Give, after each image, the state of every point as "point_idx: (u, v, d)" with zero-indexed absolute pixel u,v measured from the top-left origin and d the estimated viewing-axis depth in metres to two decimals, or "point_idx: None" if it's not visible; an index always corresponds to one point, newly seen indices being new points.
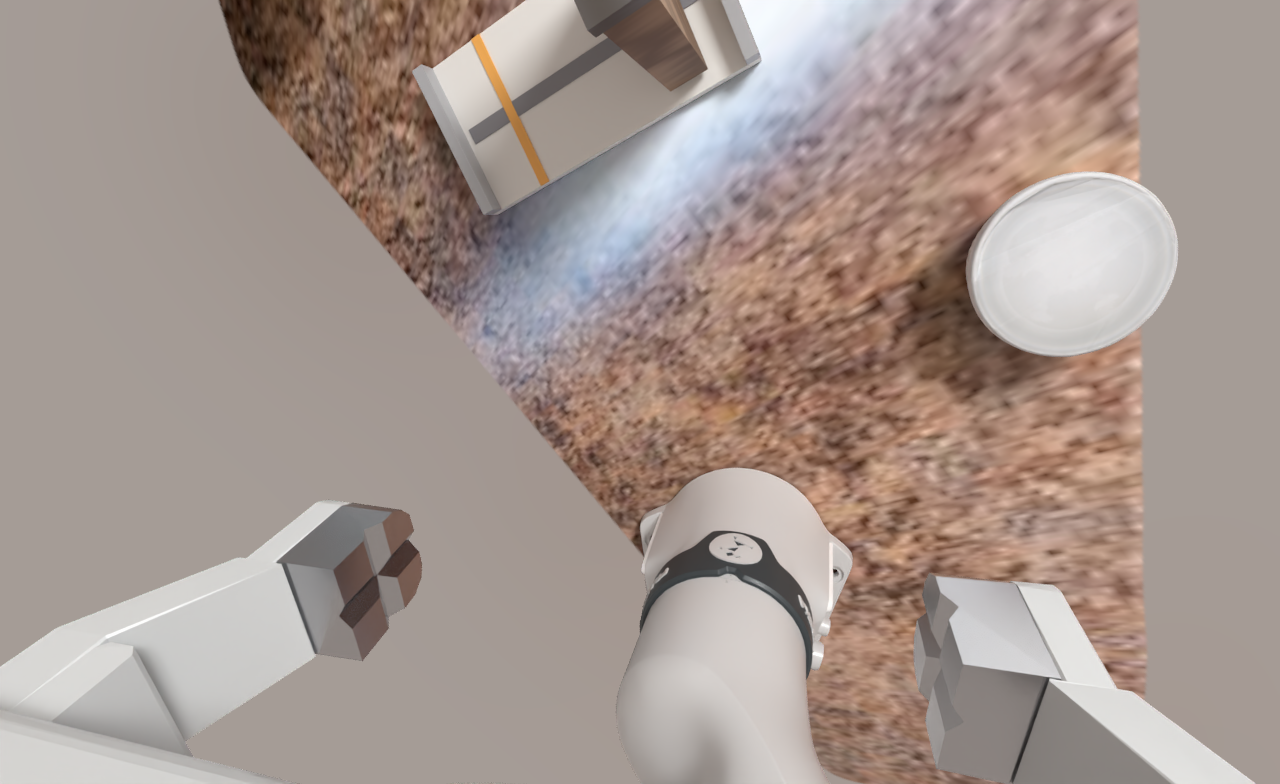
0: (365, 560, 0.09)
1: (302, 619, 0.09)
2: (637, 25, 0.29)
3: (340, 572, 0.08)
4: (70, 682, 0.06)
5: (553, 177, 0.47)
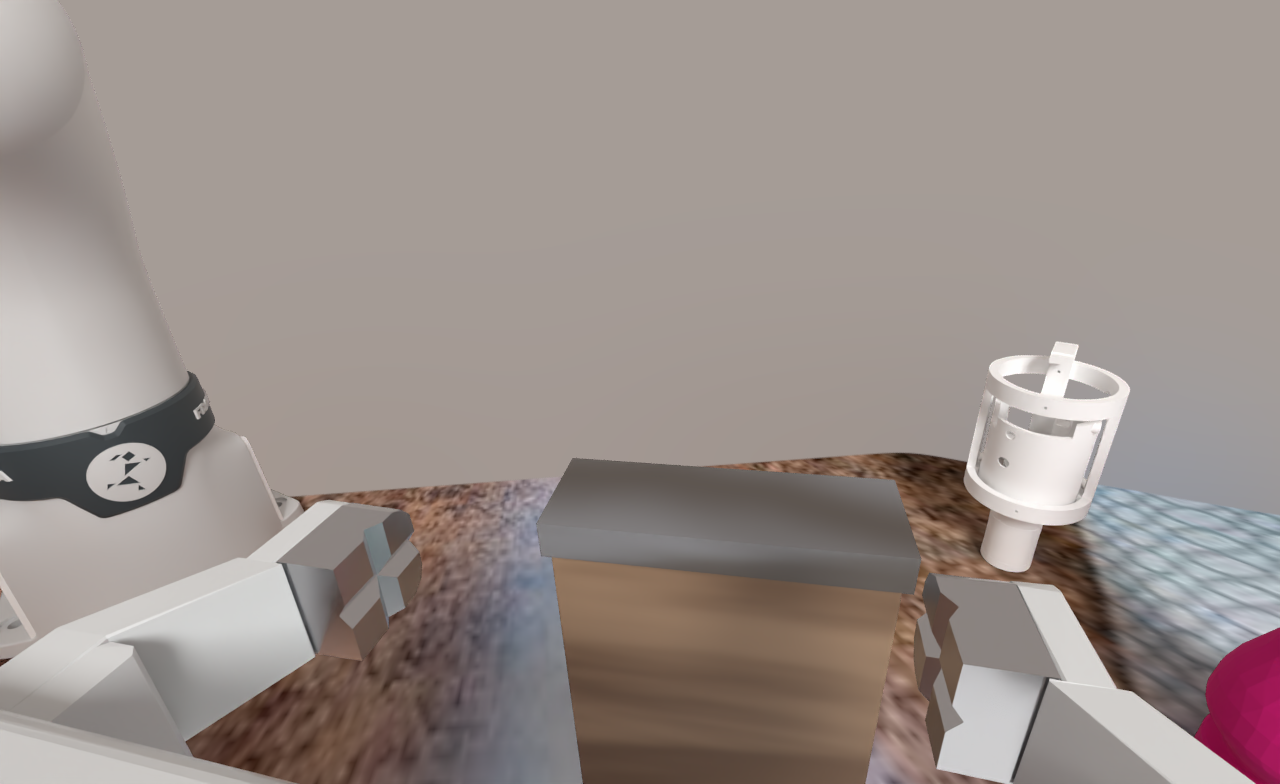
0: (365, 560, 0.09)
1: (302, 620, 0.09)
2: None
3: (340, 572, 0.08)
4: (70, 682, 0.06)
5: None
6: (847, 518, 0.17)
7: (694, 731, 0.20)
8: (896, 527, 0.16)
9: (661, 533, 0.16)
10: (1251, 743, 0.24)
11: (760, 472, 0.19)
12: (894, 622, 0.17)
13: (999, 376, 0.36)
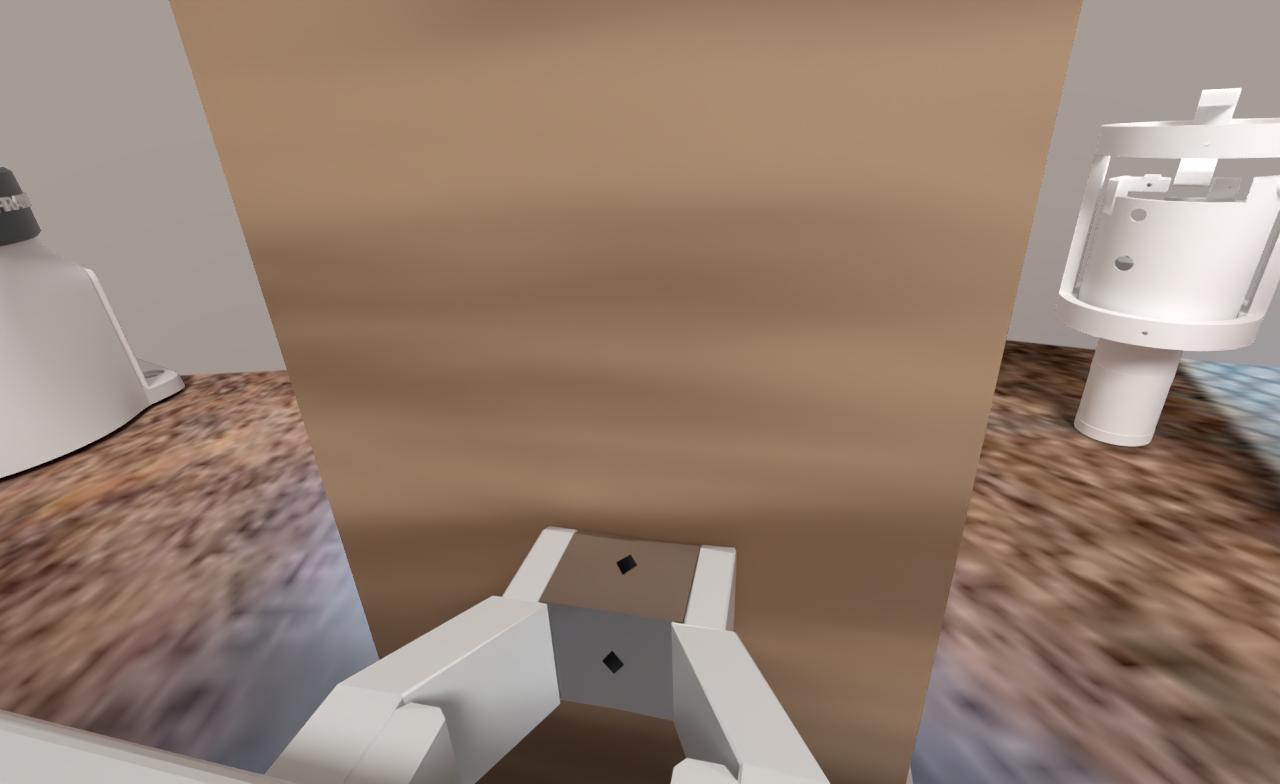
0: None
1: (554, 664, 0.08)
2: None
3: None
4: (391, 755, 0.06)
5: None
6: None
7: (552, 472, 0.09)
8: None
9: None
10: None
11: None
12: None
13: (1121, 125, 0.24)
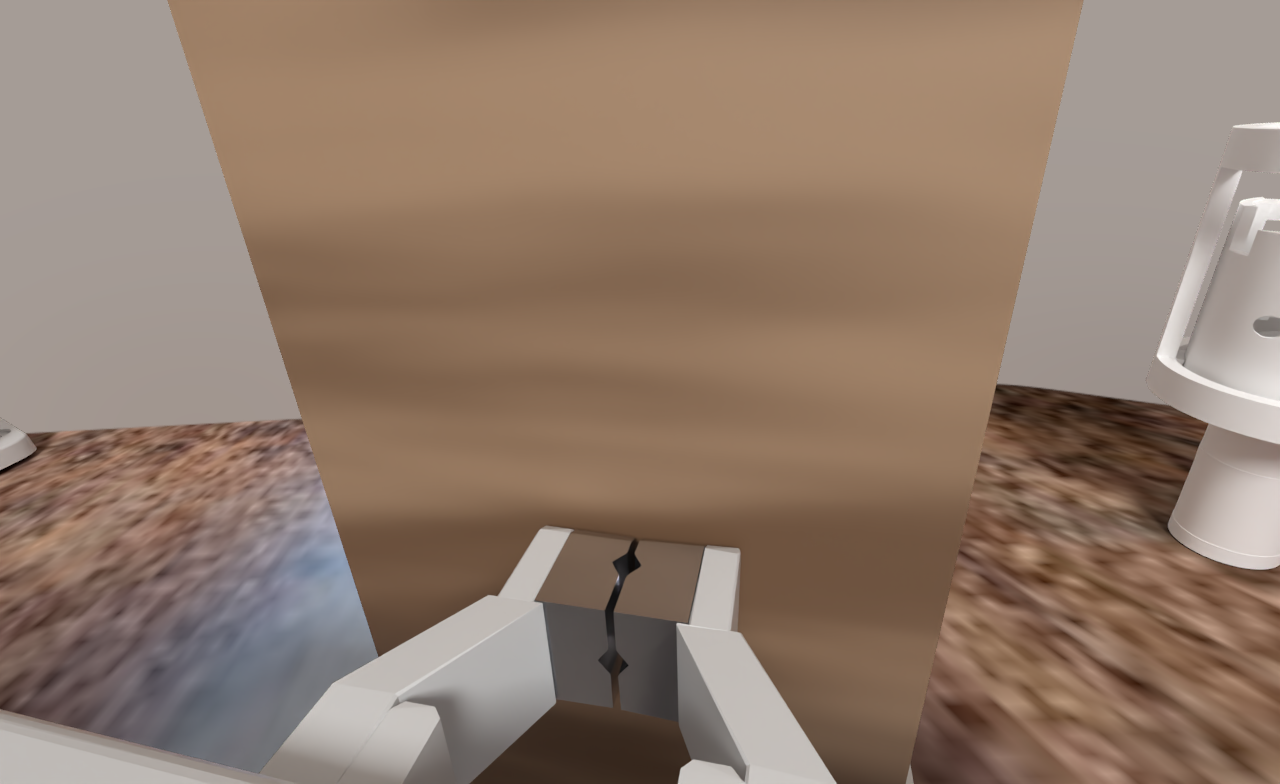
0: (619, 596, 0.08)
1: (551, 663, 0.08)
2: None
3: (607, 612, 0.07)
4: (386, 753, 0.06)
5: None
6: None
7: (552, 468, 0.09)
8: None
9: None
10: None
11: None
12: None
13: (1274, 127, 0.16)
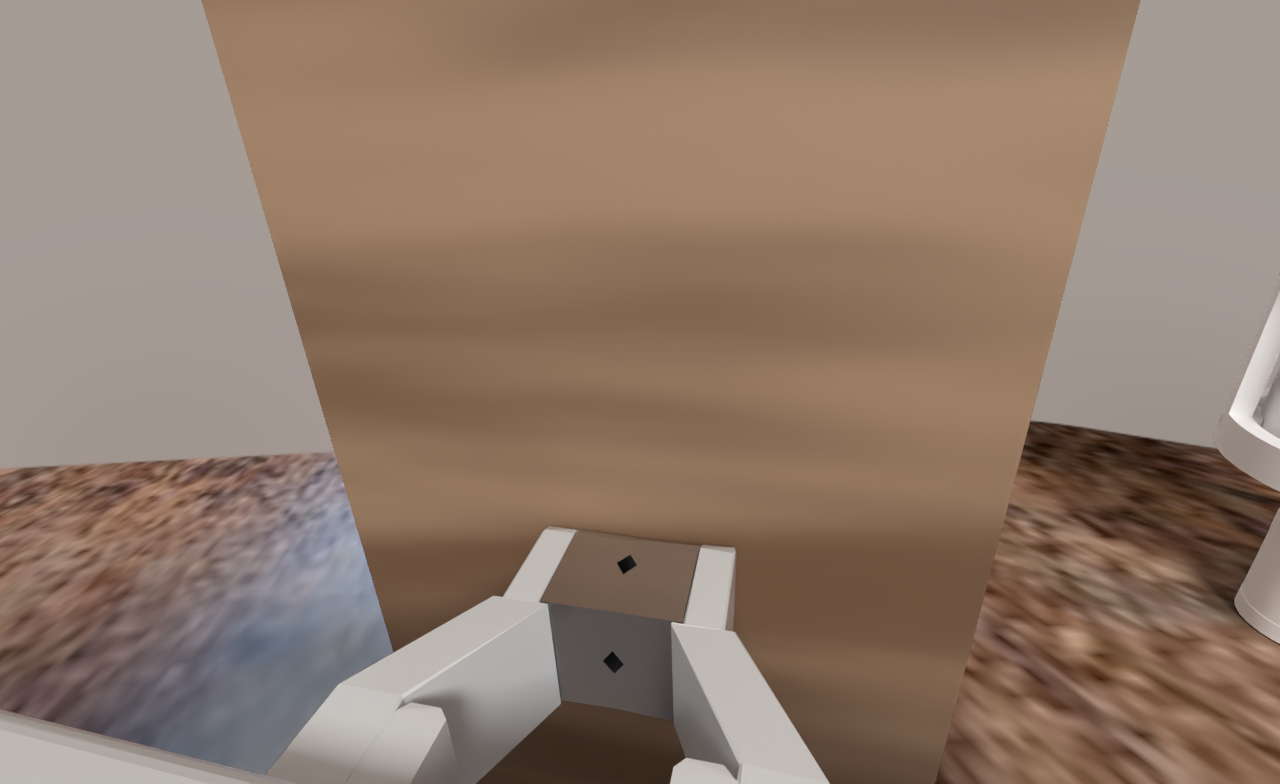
0: None
1: (555, 663, 0.08)
2: None
3: None
4: (392, 755, 0.06)
5: None
6: None
7: (582, 492, 0.09)
8: None
9: None
10: None
11: None
12: None
13: None
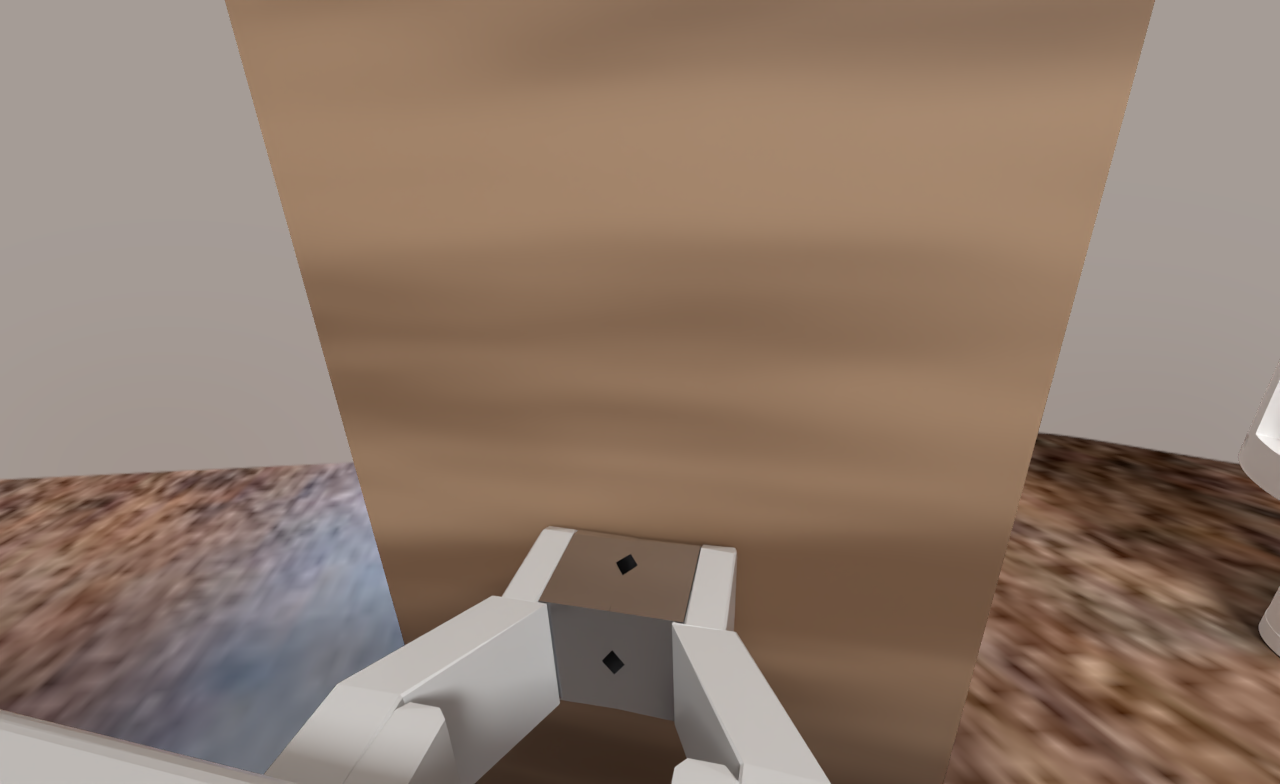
0: None
1: (554, 663, 0.08)
2: None
3: None
4: (390, 755, 0.06)
5: None
6: None
7: (597, 495, 0.09)
8: None
9: None
10: None
11: None
12: (1147, 2, 0.05)
13: None
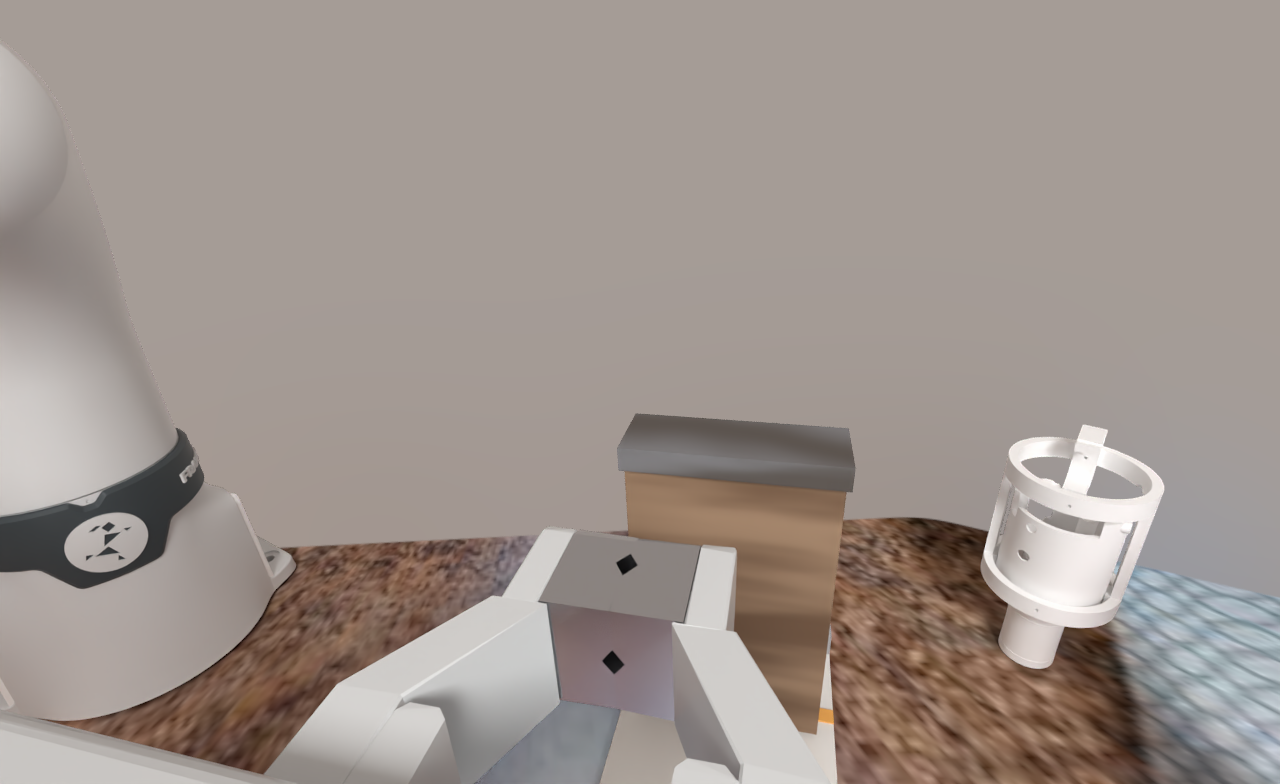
0: None
1: (553, 663, 0.08)
2: None
3: None
4: (390, 755, 0.06)
5: None
6: (814, 448, 0.26)
7: None
8: (844, 452, 0.26)
9: (696, 454, 0.26)
10: None
11: (760, 422, 0.29)
12: (842, 513, 0.26)
13: (1019, 464, 0.33)
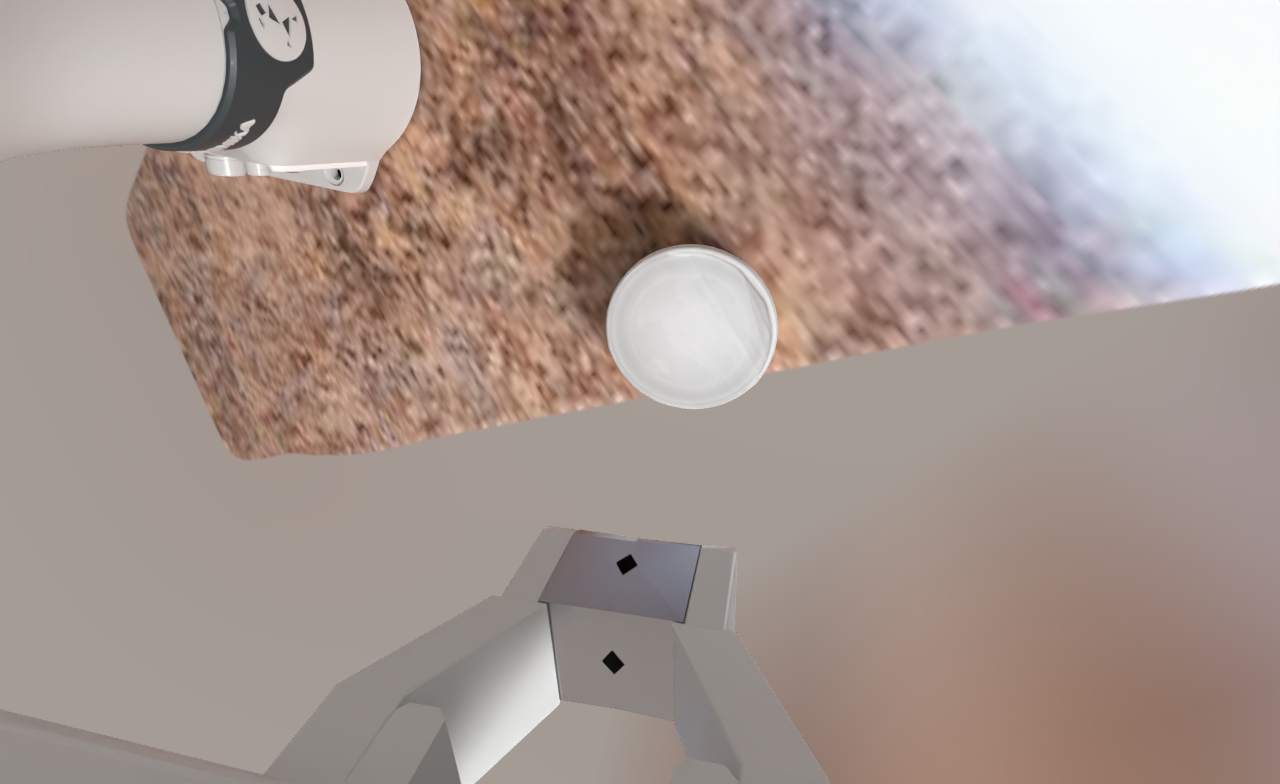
0: None
1: (554, 664, 0.08)
2: None
3: None
4: (390, 755, 0.06)
5: None
6: None
7: None
8: None
9: None
10: None
11: None
12: None
13: None
